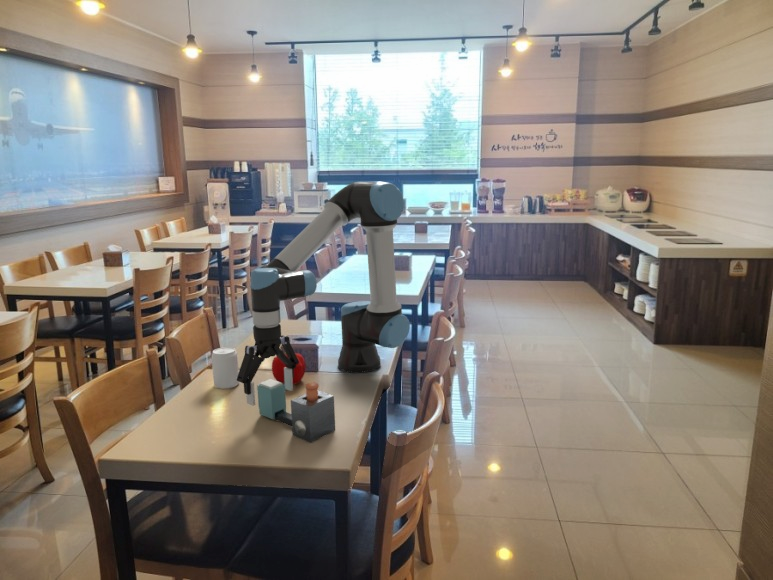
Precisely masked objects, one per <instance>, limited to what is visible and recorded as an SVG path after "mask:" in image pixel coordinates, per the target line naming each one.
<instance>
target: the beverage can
mask: <svg viewBox="0 0 773 580" xmlns="http://www.w3.org/2000/svg"><path fill="white" fill-rule="evenodd" d="M238 358H239V357H238V352H237V350H236V348H235V347H231V346H224V347H218V348H215V349H213V350H212V353H211V364H212V365H211V366H212V376H213V378H212V379H213V385H214V387H215V388H216V389H217V388H218V389H221V390H227V389H232V388H235V387H236V386H238V385H239V384H240V382H238V381H237V377H238V374H239V371H240V368H239V359H238Z"/></svg>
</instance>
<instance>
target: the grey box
mask: <svg viewBox="0 0 773 580" xmlns="http://www.w3.org/2000/svg"><path fill="white" fill-rule="evenodd" d="M335 411H336V410H335V396H334V394H330V393H328V392H324V391H322V390H319V389H318V400H316V401H314V402H310V401H307V394H306V393H304V394H301V395H300V396H297V397H295V398H293V399H290V414H291V415H292V426H291V429H292V430H291V431H292V436H294V437H296V438H297V439H298V438H299V439H301V440H303V441H305V442H307V443H310V444H312V443H314V442H316V441H317V440H319V439H322V438H323V437H325V436H327V435H328V434H331V433H333V432H334V431H336V416H335V413H336V412H335Z"/></svg>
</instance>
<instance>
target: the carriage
mask: <svg viewBox="0 0 773 580" xmlns="http://www.w3.org/2000/svg"><path fill="white" fill-rule="evenodd" d="M256 386H257V387H256V388H257V400H258V403H257V404H258V409H259V412H258V414H259V415H261V416H263V417H265V418H269V419H271V420H275V412H277V411H280V410H282V411H284V412H287V401H286V389H285V384H284V383H281V382H279V381H277V380H276V379H272V378H269V379H266V380H264V381H261V382H259V384H258V385H256Z"/></svg>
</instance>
